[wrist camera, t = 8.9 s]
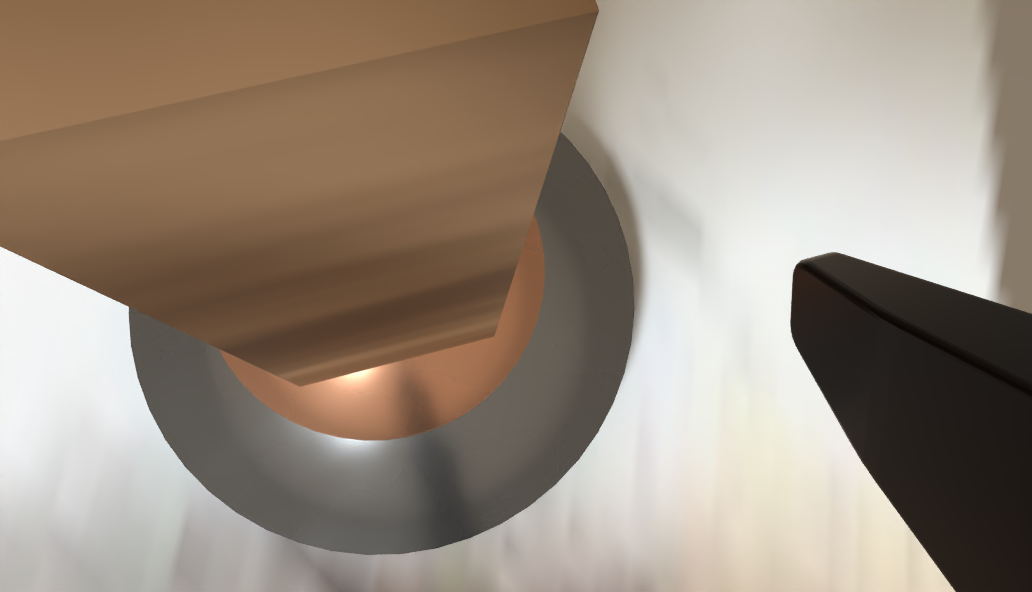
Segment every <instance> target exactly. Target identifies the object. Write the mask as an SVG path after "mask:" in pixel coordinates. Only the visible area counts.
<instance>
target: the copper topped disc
mask: <svg viewBox="0 0 1032 592" xmlns="http://www.w3.org/2000/svg"><path fill="white" fill-rule="evenodd" d="M633 316H634V296H633V277H632V272H631V266H630V260H629V255H628V249H627V245H626V242H625V239H624V236H623V232H622V229H621V226H620V223H619V220H618V217H617V215H616V213H615V211H614V208H613V206H612V204H611V202H610V200H609V198H608V196H607V193H606V191H605V189H604V188H603V186H602V185H601V183H600V181H599V180H598V178H597V177H596V175H595V174H594V172H593V170H592V169H591V167H590V166H589V164H588V163H587V162H586V160H585V159H584V158H583V157H582V156H581V154H580V153H579V152H578V151H577V150H576V148H575V147H574V146H573V145H572V144H571V142H570V141H569V140H568V139H567V138H566V137H565V136H564V135H563V134H562V133H561V132H560V133H559V136H558V139H557V143H556V146H555V149H554V152H553V155H552V158H551V161H550V164H549V168H548V171H547V174H546V177H545V180H544V183H543V186H542V189H541V192H540V196H539V199H538V202H537V205H536V208H535V211H534V214H533V217H532V221H531V224H530V227H529V230H528V233H527V236H526V239H525V242H524V246H523V249H522V252H521V255H520V258H519V261H518V264H517V267H516V270H515V274H514V277H513V280H512V283H511V286H510V289H509V292H508V295H507V299H506V302H505V305H504V308H503V311H502V314H501V317H500V320H499V323H498V327H497V330H496V333H495V336H494V337H491V338H487V339H483V340H479V341H476V342H472V343H468V344H464V345H460V346H456V347H452V348H449V349H445V350H441V351H437V352H433V353H429V354H426V355H422V356H418V357H414V358H410V359H406V360H402V361H399V362H395V363H391V364H387V365H383V366H379V367H375V368H372V369H368V370H364V371H360V372H356V373H352V374H348V375H345V376H341V377H337V378H333V379H329V380H325V381H321V382H318V383H314V384H310V385H306V386H302V387H299V386H297V385H295V384H293V383H291V382H289V381H286V380H284V379H282V378H280V377H278V376H276V375H274V374H271V373H269V372H267V371H265V370H263V369H261V368H259V367H257V366H254V365H252V364H250V363H248V362H246V361H244V360H242V359H239V358H237V357H235V356H233V355H231V354H229V353H227V352H225V351H222V350H220V349H218V348H216V347H214V346H212V345H210V344H207V343H205V342H203V341H201V340H199V339H197V338H195V337H193V336H190V335H188V334H186V333H184V332H182V331H180V330H178V329H175V328H173V327H171V326H169V325H167V324H165V323H163V322H161V321H158V320H156V319H154V318H152V317H150V316H148V315H146V314H143V313H141V312H139V311H137V310H135V309H133V308H131V307H129V323H130V337H131V348H132V352H133V357H134V362H135V366H136V371H137V376H138V380H139V382H140V385H141V388H142V391H143V393H144V396H145V399H146V402H147V404H148V407H149V410H150V412H151V414H152V415H153V417H154V419H155V421H156V423H157V425H158V427H159V429H160V430H161V432H162V434H163V436H164V438H165V440H166V441H167V442H168V444H169V445H170V447H171V448H172V449H173V451H174V452H175V453H176V455H177V456H178V458H179V459H180V460H181V462H182V463H183V464H184V466H185V467H186V468H187V469H188V470H189V471H190V472H191V473H192V474H193V475H194V476H195V477H196V478H197V479H198V480H199V481H200V482H201V484H202V485H203V486H204V487H205V488H206V489H207V490H208V491H209V492H211V493H212V494H213V495H214V496H216V497H217V498H218V499H220V500H221V501H222V502H223V503H225V504H226V505H227V506H229V507H230V508H231V509H233V510H234V511H235V512H236V513H238V514H240V515H242V516H243V517H245V518H247V519H249V520H250V521H252V522H254V523H256V524H257V525H259V526H261V527H263V528H264V529H266V530H269V531H271V532H274V533H276V534H279V535H281V536H283V537H286V538H288V539H291V540H293V541H296V542H298V543H302V544H306V545H310V546H314V547H318V548H322V549H326V550H330V551H337V552H347V553H356V554H365V555H375V554H404V553H410V552H416V551H422V550H428V549H434V548H439V547H442V546H445V545H448V544H452V543H455V542H458V541H462V540H465V539H468V538H471V537H473V536H475V535H477V534H480V533H482V532H484V531H486V530H488V529H491V528H493V527H495V526H497V525H499V524H501V523H503V522H505V521H506V520H508V519H509V518H511V517H513V516H514V515H516V514H517V513H519V512H521V511H522V510H524V509H525V508H527V507H529V506H530V505H531V504H532V503H534V502H535V501H536V500H537V499H538V498H540V497H541V496H542V495H543V494H545V493H546V492H547V491H548V490H549V489H551V488H552V487H553V486H554V485H555V484H556V483H557V482H558V481H559V480H560V479H561V478H562V477H563V476H564V475H565V474H566V473H567V472H568V470H569V469H570V468H571V467H572V466H573V465H574V464H575V463H576V462H577V461H578V460H579V458H580V457H581V456H582V454H583V453H584V451H585V450H586V448H587V447H588V446H589V444H590V443H591V441H592V440H593V439H594V437H595V436H596V434H597V433H598V431H599V429H600V427H601V425H602V424H603V422H604V420H605V418H606V416H607V414H608V412H609V410H610V408H611V406H612V404H613V402H614V400H615V397H616V394H617V391H618V389H619V386H620V383H621V380H622V378H623V375H624V372H625V368H626V363H627V359H628V354H629V350H630V345H631V339H632V328H633Z"/></svg>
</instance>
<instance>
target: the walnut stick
mask: <svg viewBox="0 0 1032 592" xmlns="http://www.w3.org/2000/svg"><path fill="white" fill-rule="evenodd" d="M598 12H599V10H598V7H597V4H596V1H595V0H0V247H3V248H5V249H7V250H9V251H11V252H13V253H15V254H18V255H20V256H22V257H24V258H26V259H28V260H30V261H32V262H35V263H37V264H39V265H41V266H43V267H45V268H47V269H50V270H52V271H54V272H56V273H58V274H60V275H62V276H65V277H67V278H69V279H71V280H73V281H75V282H77V283H79V284H82V285H84V286H86V287H88V288H90V289H92V290H94V291H97V292H99V293H101V294H103V295H105V296H107V297H109V298H111V299H114V300H116V301H118V302H120V303H122V304H124V305H126V306H129V307H131V308H133V309H135V310H137V311H139V312H141V313H143V314H146V315H148V316H150V317H152V318H154V319H156V320H158V321H161V322H163V323H165V324H167V325H169V326H171V327H173V328H175V329H178V330H180V331H182V332H184V333H186V334H188V335H190V336H193V337H195V338H197V339H199V340H201V341H203V342H205V343H207V344H210V345H212V346H214V347H216V348H218V349H220V350H222V351H225V352H227V353H229V354H231V355H233V356H235V357H237V358H239V359H242V360H244V361H246V362H248V363H250V364H252V365H254V366H257V367H259V368H261V369H263V370H265V371H267V372H269V373H271V374H274V375H276V376H278V377H280V378H282V379H284V380H286V381H289V382H291V383H293V384H295V385H297V386H299V387H302V386H306V385H310V384H314V383H318V382H321V381H325V380H329V379H333V378H337V377H341V376H345V375H348V374H352V373H356V372H360V371H364V370H368V369H372V368H375V367H379V366H383V365H387V364H391V363H395V362H399V361H402V360H406V359H410V358H414V357H418V356H422V355H426V354H429V353H433V352H437V351H441V350H445V349H449V348H452V347H456V346H460V345H464V344H468V343H472V342H476V341H479V340H483V339H487V338H491V337H494V336H495V333H496V330H497V327H498V323H499V320H500V317H501V314H502V311H503V308H504V305H505V302H506V299H507V295H508V292H509V289H510V286H511V283H512V280H513V277H514V274H515V270H516V267H517V264H518V261H519V258H520V255H521V252H522V249H523V246H524V242H525V239H526V236H527V233H528V230H529V227H530V224H531V221H532V217H533V214H534V211H535V208H536V205H537V202H538V199H539V196H540V192H541V189H542V186H543V183H544V180H545V177H546V174H547V171H548V168H549V164H550V161H551V158H552V155H553V152H554V149H555V146H556V143H557V139H558V136H559V133H560V130H561V127H562V124H563V121H564V118H565V115H566V111H567V108H568V105H569V102H570V99H571V96H572V93H573V90H574V86H575V83H576V80H577V77H578V74H579V71H580V68H581V65H582V62H583V58H584V55H585V52H586V49H587V46H588V43H589V40H590V37H591V33H592V30H593V27H594V24H595V21H596V18H597V15H598Z"/></svg>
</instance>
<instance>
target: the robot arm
mask: <svg viewBox="0 0 1032 592" xmlns="http://www.w3.org/2000/svg"><path fill="white" fill-rule="evenodd" d="M790 323H791V333H792V337H793V340H794V343H795V345H796V347H797V349H798V351H799V353H800V355H801V356H802V358H803V360H804V362H805V363H806V365H807V367H808V369H809V370H810V372H811V374H812V376H813V377H814V379H815V381H816V383H817V385H818V386H819V388H820V390H821V392H822V393H823V395H824V397H825V399H826V400H827V402H828V404H829V406H830V408H831V409H832V411H833V413H834V415H835V416H836V418H837V420H838V422H839V423H840V425H841V427H842V429H843V431H844V432H845V434H846V436H847V438H848V439H849V441H850V443H851V445H852V446H853V448H854V449H855V451H856V453H857V454H858V456H859V458H860V459H861V461H862V463H863V464H864V465H865V467H866V468H867V470H868V471H869V473H870V474H871V476H872V477H873V479H874V480H875V481H876V483H877V484H878V486H879V487H880V488H881V490H882V491H883V492H884V494H885V495H886V497H887V498H888V499H889V501H890V502H891V503H892V505H893V506H894V508H895V509H896V510H897V512H898V513H899V514H900V516H901V517H902V519H903V520H904V521H905V523H906V524H907V525H908V527H909V528H910V530H911V531H912V532H913V534H914V535H915V536H916V538H917V539H918V541H919V542H920V543H921V545H922V546H923V547H924V549H925V550H926V552H927V553H928V554H929V556H930V557H931V558H932V560H933V561H934V563H935V564H936V565H937V567H938V568H939V569H940V571H941V572H942V574H943V575H944V576H945V578H946V579H947V580H948V582H949V583H950V585H951V586H952V587H953V589H954V590H955V591H956V592H1032V314H1031V313H1027V312H1024V311H1021V310H1018V309H1015V308H1011V307H1008V306H1005V305H1002V304H999V303H996V302H993V301H989V300H986V299H983V298H980V297H977V296H974V295H971V294H967V293H964V292H961V291H958V290H955V289H952V288H948V287H945V286H942V285H939V284H936V283H933V282H929V281H926V280H923V279H920V278H917V277H914V276H910V275H907V274H904V273H901V272H898V271H895V270H891V269H888V268H885V267H882V266H879V265H876V264H873V263H869V262H866V261H863V260H860V259H857V258H854V257H850V256H847V255H844V254H841V253H837V252H831V253H826V254H823V255H819V256H815V257H811V258H808V259H804V260H801V261H800V262H799V263H798V264H797V265H796V266H795V269H794V272H793V282H792V302H791V322H790Z"/></svg>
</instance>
